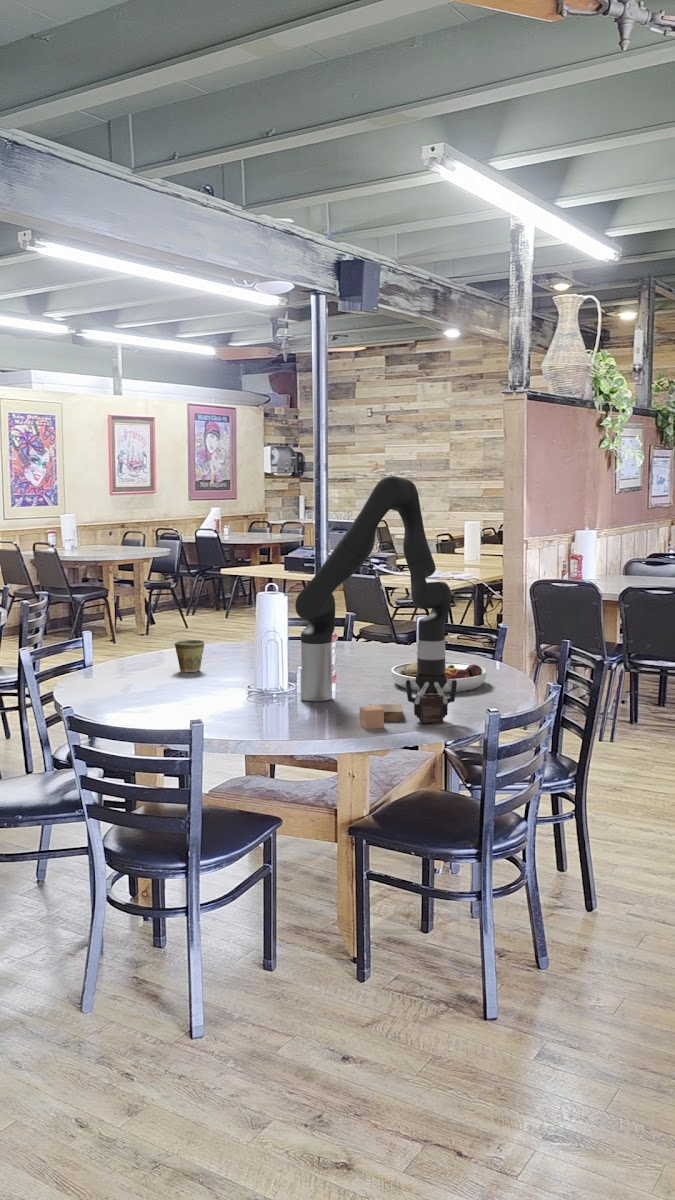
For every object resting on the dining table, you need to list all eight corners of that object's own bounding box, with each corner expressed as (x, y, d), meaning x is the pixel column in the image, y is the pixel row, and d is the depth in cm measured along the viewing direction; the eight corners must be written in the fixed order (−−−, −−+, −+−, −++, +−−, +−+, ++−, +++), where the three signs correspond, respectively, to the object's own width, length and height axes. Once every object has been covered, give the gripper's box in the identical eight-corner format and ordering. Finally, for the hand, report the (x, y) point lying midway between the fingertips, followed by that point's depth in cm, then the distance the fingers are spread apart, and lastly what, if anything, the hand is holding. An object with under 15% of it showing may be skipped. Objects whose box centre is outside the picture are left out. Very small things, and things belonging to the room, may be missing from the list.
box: (440, 718, 275) (440, 692, 274) (443, 724, 269) (443, 697, 268) (418, 719, 275) (418, 692, 274) (420, 724, 269) (420, 697, 268)
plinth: (369, 722, 273) (369, 711, 273) (369, 714, 282) (369, 704, 282) (402, 722, 273) (402, 711, 273) (401, 714, 282) (401, 704, 282)
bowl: (375, 689, 315) (375, 664, 314) (414, 673, 341) (414, 650, 340) (466, 699, 301) (466, 673, 300) (499, 681, 327) (499, 657, 326)
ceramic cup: (202, 673, 339) (202, 644, 338) (173, 674, 339) (172, 644, 338) (208, 666, 352) (207, 638, 350) (179, 666, 352) (179, 638, 351)
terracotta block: (366, 729, 265) (366, 710, 264) (359, 725, 269) (359, 706, 269) (383, 727, 266) (383, 709, 265) (377, 723, 271) (377, 705, 270)
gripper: (405, 658, 266) (404, 720, 269) (459, 658, 266) (458, 720, 268) (403, 653, 274) (403, 713, 276) (456, 653, 274) (456, 713, 276)
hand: (430, 716), depth 272 cm, fingers closed on box, 6 cm apart
